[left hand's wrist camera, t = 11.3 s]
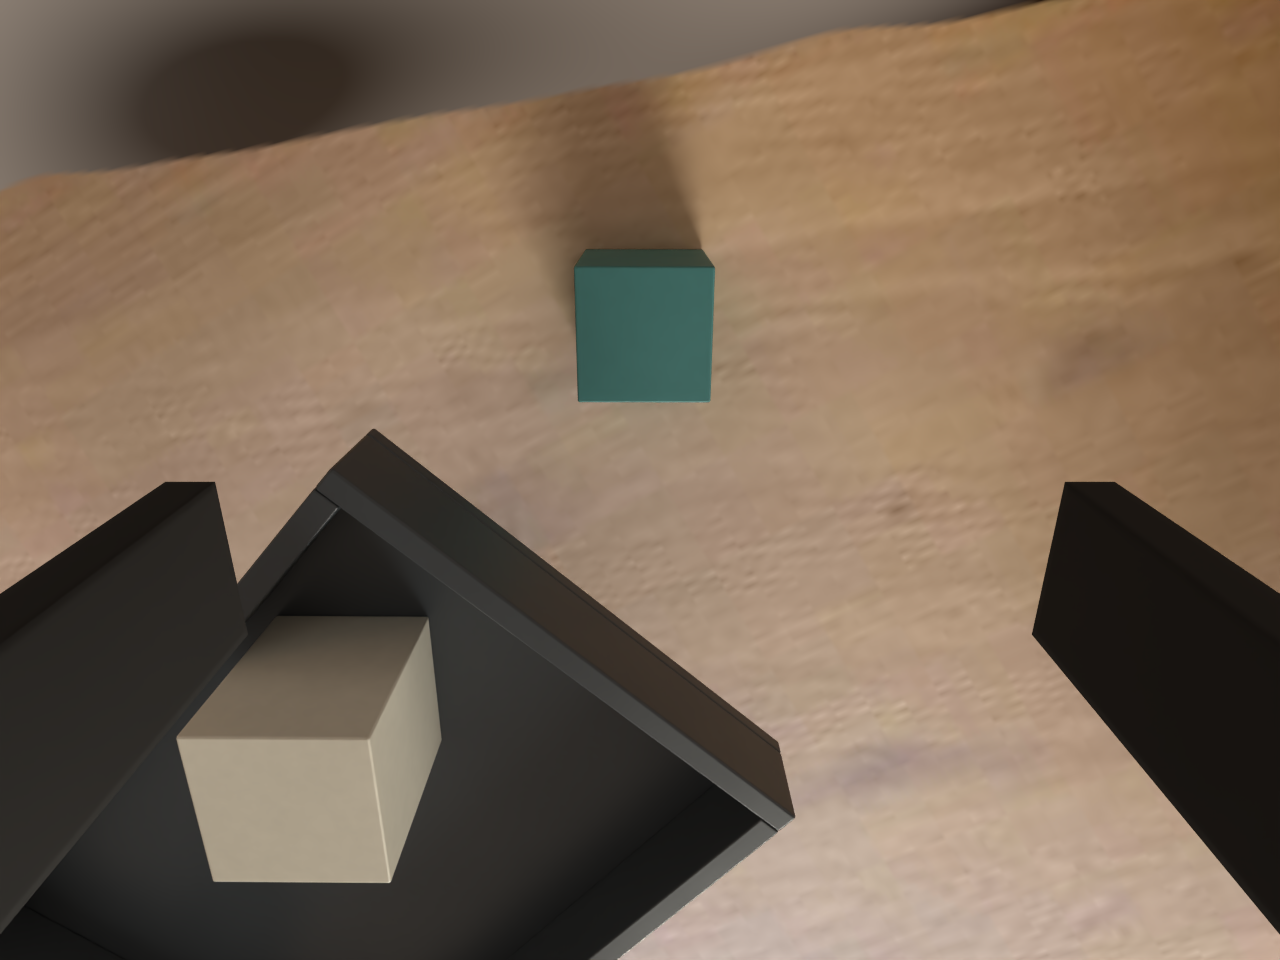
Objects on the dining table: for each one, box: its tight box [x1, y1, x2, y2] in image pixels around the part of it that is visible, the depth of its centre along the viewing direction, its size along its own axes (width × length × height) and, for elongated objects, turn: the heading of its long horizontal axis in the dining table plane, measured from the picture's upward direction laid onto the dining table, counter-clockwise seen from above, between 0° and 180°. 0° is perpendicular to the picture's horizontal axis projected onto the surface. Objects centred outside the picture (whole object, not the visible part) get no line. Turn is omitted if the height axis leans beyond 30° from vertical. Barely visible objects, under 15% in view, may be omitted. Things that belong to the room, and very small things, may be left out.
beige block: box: [176, 616, 442, 883], centre depth 24 cm, size 5×5×6 cm
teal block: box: [574, 249, 715, 402], centre depth 32 cm, size 5×5×6 cm
